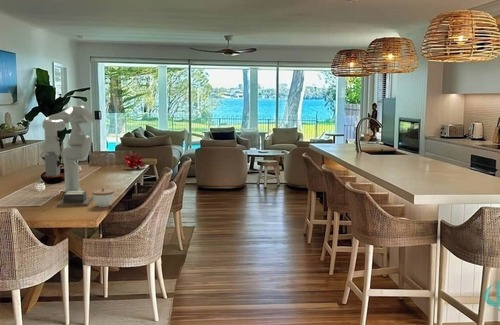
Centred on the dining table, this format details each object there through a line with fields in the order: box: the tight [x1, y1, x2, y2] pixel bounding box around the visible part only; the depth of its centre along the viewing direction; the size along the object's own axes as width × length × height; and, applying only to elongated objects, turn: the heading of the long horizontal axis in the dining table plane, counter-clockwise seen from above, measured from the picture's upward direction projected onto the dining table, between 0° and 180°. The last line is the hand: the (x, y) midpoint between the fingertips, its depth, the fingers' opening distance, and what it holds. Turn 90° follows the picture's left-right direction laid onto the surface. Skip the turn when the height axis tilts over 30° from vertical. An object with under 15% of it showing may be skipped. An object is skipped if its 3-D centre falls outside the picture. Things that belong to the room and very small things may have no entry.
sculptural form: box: [122, 150, 147, 170], centre depth 453 cm, size 20×24×21 cm
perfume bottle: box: [44, 152, 61, 177], centre depth 314 cm, size 7×7×18 cm
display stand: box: [56, 190, 93, 208], centre depth 305 cm, size 20×18×7 cm
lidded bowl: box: [92, 187, 114, 208], centre depth 298 cm, size 13×13×11 cm
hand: (52, 166), depth 315 cm, fingers closed on perfume bottle, 5 cm apart
